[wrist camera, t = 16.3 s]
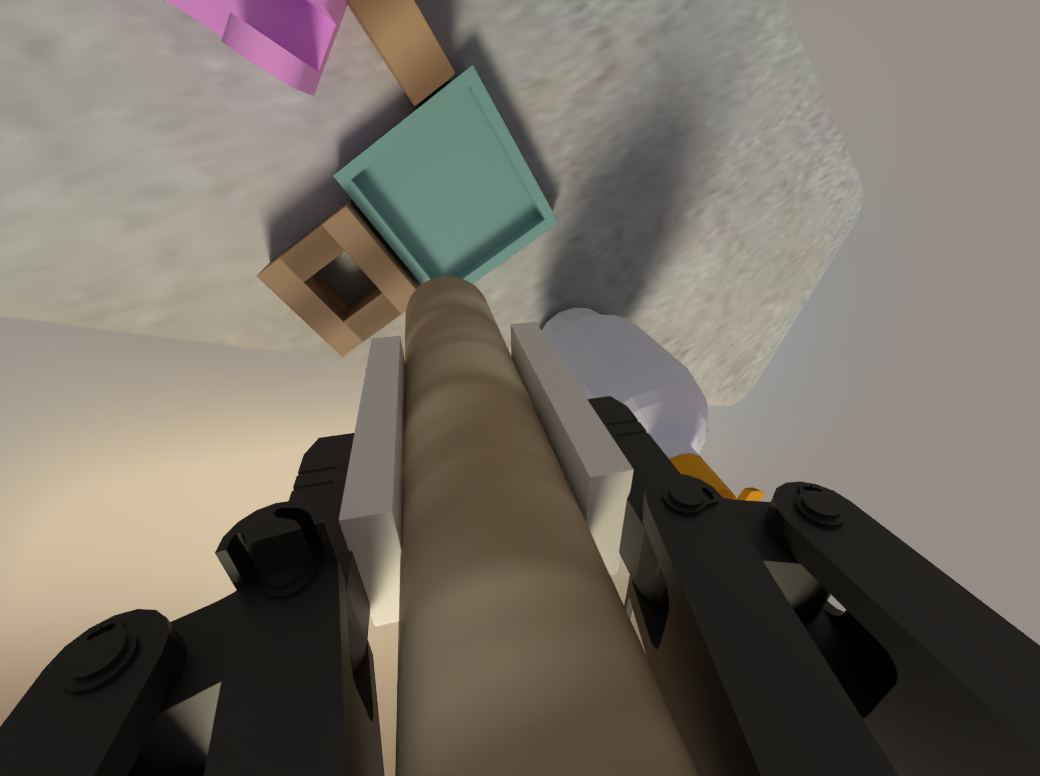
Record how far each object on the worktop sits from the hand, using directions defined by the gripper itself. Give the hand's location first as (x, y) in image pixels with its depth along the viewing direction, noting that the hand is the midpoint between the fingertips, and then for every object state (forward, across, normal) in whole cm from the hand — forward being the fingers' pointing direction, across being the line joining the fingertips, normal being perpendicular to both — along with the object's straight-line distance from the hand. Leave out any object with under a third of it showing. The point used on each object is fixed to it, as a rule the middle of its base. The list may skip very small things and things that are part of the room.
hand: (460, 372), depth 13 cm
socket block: (+25, -7, -4) cm, 26 cm away
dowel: (+5, 0, 0) cm, 5 cm away
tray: (+25, +2, +2) cm, 25 cm away
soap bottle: (+25, +12, -12) cm, 31 cm away
